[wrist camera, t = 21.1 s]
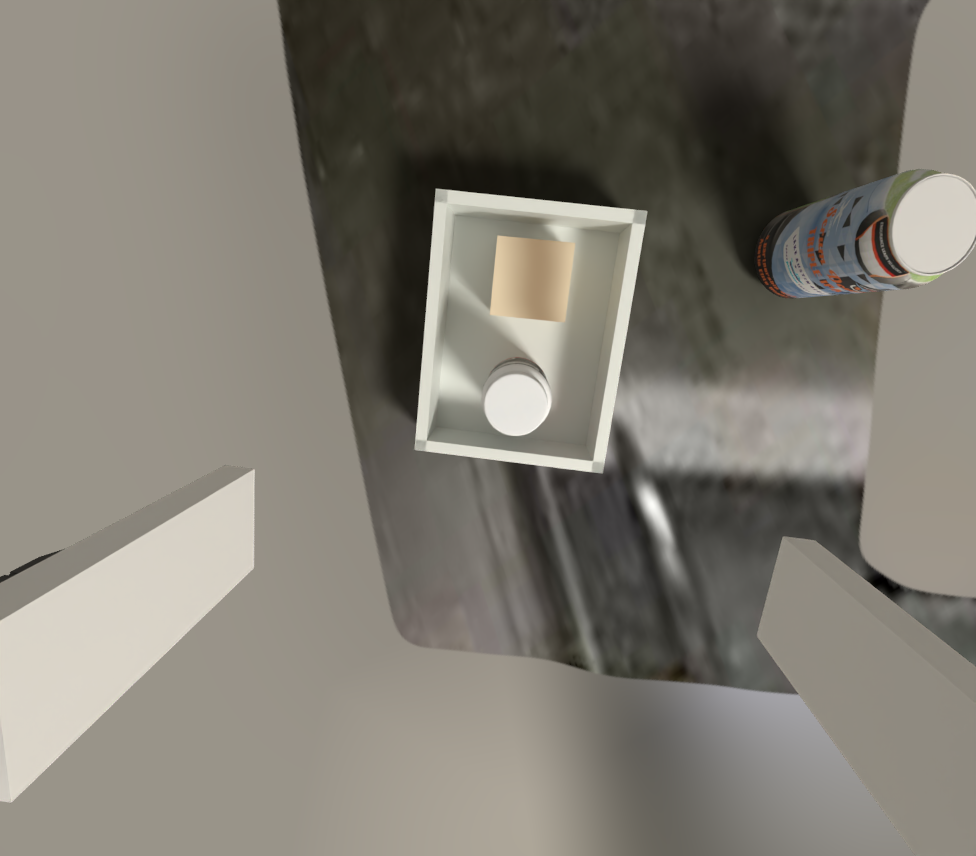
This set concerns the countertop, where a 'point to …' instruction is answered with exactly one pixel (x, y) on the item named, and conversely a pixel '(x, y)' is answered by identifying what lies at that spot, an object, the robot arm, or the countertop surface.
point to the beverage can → (870, 237)
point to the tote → (525, 328)
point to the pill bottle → (516, 396)
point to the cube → (531, 278)
